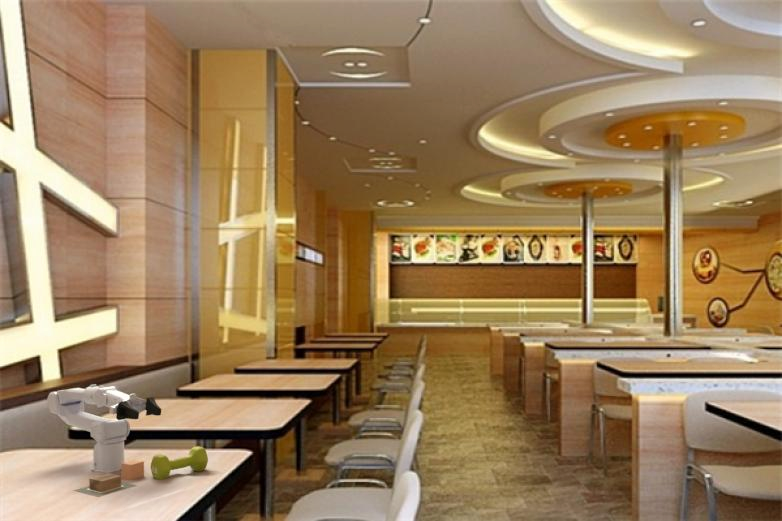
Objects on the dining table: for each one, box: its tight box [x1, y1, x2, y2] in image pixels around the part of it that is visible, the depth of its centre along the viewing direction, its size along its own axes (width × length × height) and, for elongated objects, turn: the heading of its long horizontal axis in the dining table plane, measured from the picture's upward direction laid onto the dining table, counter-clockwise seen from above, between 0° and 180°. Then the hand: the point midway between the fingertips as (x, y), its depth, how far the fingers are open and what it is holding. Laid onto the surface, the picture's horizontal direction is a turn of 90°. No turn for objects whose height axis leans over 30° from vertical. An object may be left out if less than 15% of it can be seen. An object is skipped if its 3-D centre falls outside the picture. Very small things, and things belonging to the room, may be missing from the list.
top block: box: [121, 459, 145, 480], centre depth 203 cm, size 4×4×5 cm
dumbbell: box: [150, 445, 209, 480], centre depth 207 cm, size 16×8×7 cm, turn 135°
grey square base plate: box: [73, 481, 138, 498], centre depth 192 cm, size 12×12×1 cm
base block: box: [88, 472, 122, 492], centre depth 193 cm, size 6×6×3 cm
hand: (149, 413), depth 203 cm, fingers open, 7 cm apart
